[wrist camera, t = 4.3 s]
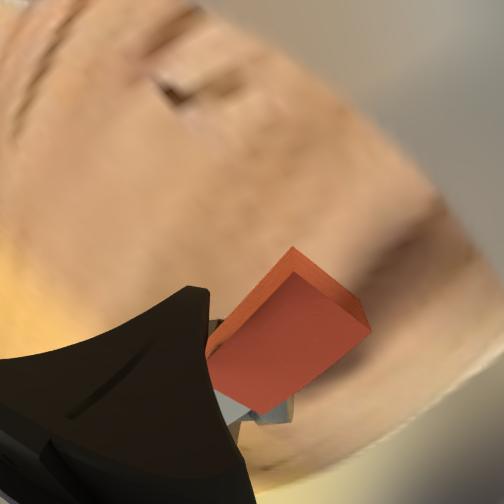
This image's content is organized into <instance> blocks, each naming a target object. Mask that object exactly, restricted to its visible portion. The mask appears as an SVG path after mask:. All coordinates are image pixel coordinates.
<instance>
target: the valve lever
mask: <svg viewBox="0 0 504 504" xmlns="http://www.w3.org/2000/svg"><path fill="white" fill-rule="evenodd" d="M371 332H372V331H371V328H370V326H369V323H368V320H367V318H366V315H365V313H364V310H363V307H362V305H361V302H360V300H359V299H358V298H356V297H355V296H354V295H353V294H352V293H350V292H349V291H348V290H347V289H345V288H344V287H343V286H342V285H341V284H339V283H338V282H337V281H336V280H334V279H333V278H332V277H331V276H329V275H328V274H327V273H326V272H325V271H323V270H322V269H321V268H320V267H318V266H317V265H316V264H315V263H313V262H312V261H311V260H310V259H308V258H307V257H306V256H304V255H303V254H302V253H301V252H299V251H298V250H297V249H296V248H294V247H293V246H292V247H291V248H290V249H289V250H288V251H287V252H286V254H285V255H284V256H283V257H282V258H281V259H280V260H279V261H278V263H277V264H276V265H275V266H274V267H273V268H272V269H271V270H270V271H269V273H268V274H267V275H266V276H265V277H264V278H263V279H262V280H261V281H260V282H259V284H258V285H257V286H256V287H255V288H254V289H253V290H252V291H251V292H250V293H249V295H248V296H247V297H246V298H245V299H244V300H243V301H242V302H241V303H240V304H239V305H238V307H237V308H236V309H235V310H234V311H233V312H232V313H231V314H230V315H229V316H228V317H227V318H226V320H225V321H224V322H223V323H222V324H221V325H220V326H219V327H218V328H217V329H216V330H215V331H214V332H213V333H212V335H211V336H210V337H209V338H208V341H207V346H206V350H205V355H206V361H207V366H208V371H209V375H210V379H211V382H212V386H213V389H214V392H215V395H216V398H217V401H218V404H219V407H220V410H221V412H222V415H223V417H224V420H225V422H226V424H227V426H228V425H229V424H231V423H232V422H234V421H235V420H237V419H238V418H240V417H241V416H243V415H244V414H246V413H247V412H249V411H250V410H253V411H255V412H257V413H259V414H261V415H264V414H266V413H267V412H269V411H270V410H272V409H273V408H274V407H276V406H277V405H279V404H280V403H282V402H283V401H285V400H286V399H287V398H289V397H290V396H292V395H293V394H294V393H296V392H297V391H299V390H300V389H301V388H303V387H304V386H305V385H307V384H308V383H309V382H311V381H312V380H313V379H315V378H316V377H317V376H319V375H320V374H321V373H323V372H324V371H325V370H326V369H328V368H329V367H330V366H331V365H333V364H334V363H335V362H336V361H338V360H339V359H340V358H341V357H343V356H344V355H345V354H346V353H347V352H349V351H350V350H351V349H352V348H353V347H354V346H356V345H357V344H358V343H359V342H360V341H361V340H363V339H364V338H365V337H366V336H367V335H368V334H369V333H371Z"/></svg>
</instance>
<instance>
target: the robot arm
mask: <svg viewBox="0 0 504 504" xmlns="http://www.w3.org/2000/svg"><path fill="white" fill-rule="evenodd" d="M209 305H210V292H209V291H208V289H206V288H200V287H194V286H186V287H184V288H182V289H181V290H179V291H178V292H176V293H174V294H173V295H171V296H170V297H168V298H167V299H165V300H164V301H162V302H160V303H159V304H157V305H156V306H154V307H152V308H151V309H149V310H147V311H146V312H144V313H142V314H140V315H139V316H137V317H135V318H133V319H131V320H129V321H128V322H126V323H124V324H122V325H120V326H118V327H116V328H114V329H112V330H110V331H107V332H105V333H103V334H100V335H98V336H96V337H93V338H91V339H88V340H85V341H82V342H79V343H76V344H73V345H70V346H66V347H63V348H60V349H57V350H53V351H49V352H45V353H40V354H35V355H30V356H25V357H18V358H10V359H0V497H2V498H3V499H4V500H6V501H7V502H8V503H10V504H256V499H255V496H254V492H253V489H252V485H251V482H250V479H249V475H248V472H247V469H246V464H245V460H244V458H243V456H242V455H241V453H240V451H239V449H238V447H237V445H236V443H235V441H234V439H233V437H232V435H231V433H230V431H229V429H228V427H227V424H226V422H225V420H224V417H223V415H222V412H221V410H220V407H219V404H218V401H217V398H216V395H215V392H214V389H213V386H212V382H211V379H210V375H209V371H208V366H207V361H206V355H205V350H206V346H207V341H208V331H209Z"/></svg>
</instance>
